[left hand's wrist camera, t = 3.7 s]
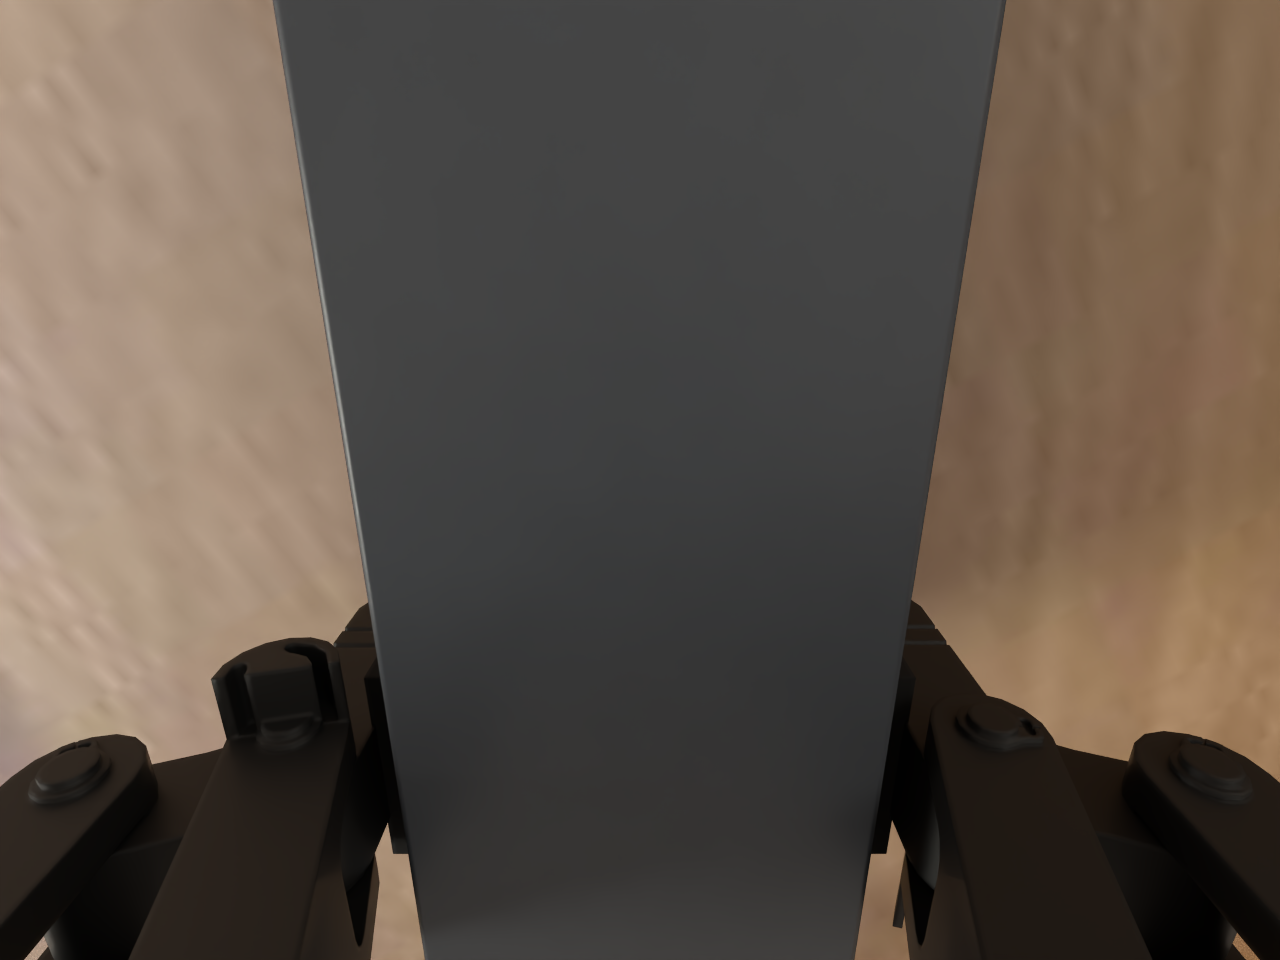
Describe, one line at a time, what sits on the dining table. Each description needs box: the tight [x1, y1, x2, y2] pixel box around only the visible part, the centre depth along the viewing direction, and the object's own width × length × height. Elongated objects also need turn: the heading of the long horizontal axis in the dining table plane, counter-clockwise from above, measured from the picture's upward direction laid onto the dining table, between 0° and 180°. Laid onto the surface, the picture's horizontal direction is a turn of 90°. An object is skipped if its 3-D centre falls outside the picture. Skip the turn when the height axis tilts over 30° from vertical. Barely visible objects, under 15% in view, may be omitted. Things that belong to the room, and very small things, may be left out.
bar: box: [273, 0, 1006, 960], centre depth 8 cm, size 21×5×8 cm, turn 0°
